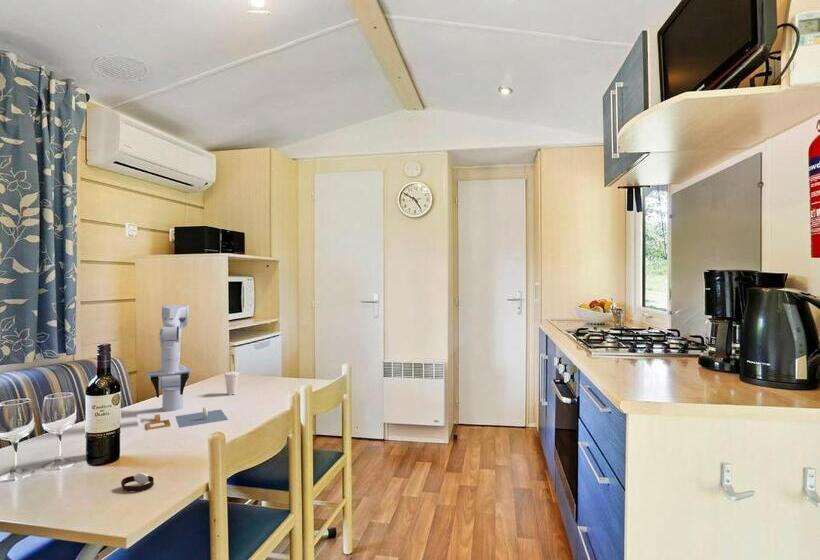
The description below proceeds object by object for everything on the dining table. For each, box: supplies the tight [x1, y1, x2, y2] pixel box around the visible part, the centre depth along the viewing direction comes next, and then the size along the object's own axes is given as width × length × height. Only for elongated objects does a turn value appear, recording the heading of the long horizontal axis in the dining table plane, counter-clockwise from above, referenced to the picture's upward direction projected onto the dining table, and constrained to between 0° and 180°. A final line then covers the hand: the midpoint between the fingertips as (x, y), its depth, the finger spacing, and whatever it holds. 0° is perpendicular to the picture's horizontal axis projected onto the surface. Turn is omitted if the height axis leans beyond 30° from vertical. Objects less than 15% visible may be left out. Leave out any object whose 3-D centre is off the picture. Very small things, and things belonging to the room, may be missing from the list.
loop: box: [145, 414, 171, 431], centre depth 156 cm, size 12×7×2 cm, turn 33°
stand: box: [175, 406, 229, 429], centre depth 162 cm, size 15×16×5 cm
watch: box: [120, 472, 155, 492], centre depth 110 cm, size 8×5×4 cm, turn 90°
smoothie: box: [223, 363, 240, 396], centre depth 200 cm, size 6×6×14 cm
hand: (169, 395), depth 162 cm, fingers open, 7 cm apart
